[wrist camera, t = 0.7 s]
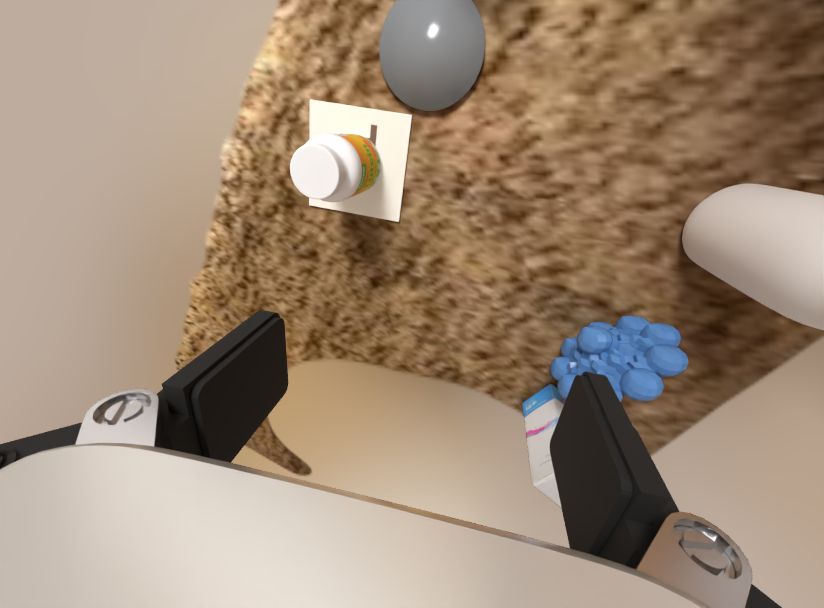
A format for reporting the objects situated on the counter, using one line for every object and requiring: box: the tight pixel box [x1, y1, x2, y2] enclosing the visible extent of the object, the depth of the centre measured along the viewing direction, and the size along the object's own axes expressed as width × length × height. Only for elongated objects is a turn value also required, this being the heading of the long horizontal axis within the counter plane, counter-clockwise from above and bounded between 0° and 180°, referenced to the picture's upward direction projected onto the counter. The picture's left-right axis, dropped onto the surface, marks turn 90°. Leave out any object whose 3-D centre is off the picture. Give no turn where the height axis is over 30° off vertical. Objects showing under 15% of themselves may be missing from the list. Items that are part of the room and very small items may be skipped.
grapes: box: [550, 316, 689, 403], centre depth 33 cm, size 12×7×12 cm, turn 132°
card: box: [309, 100, 412, 222], centre depth 35 cm, size 10×10×1 cm
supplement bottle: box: [290, 133, 381, 202], centre depth 31 cm, size 5×5×10 cm
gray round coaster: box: [379, 0, 485, 111], centre depth 30 cm, size 9×9×1 cm
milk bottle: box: [682, 184, 824, 330], centre depth 23 cm, size 8×8×20 cm
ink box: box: [522, 384, 566, 509], centre depth 38 cm, size 9×5×12 cm, turn 50°
